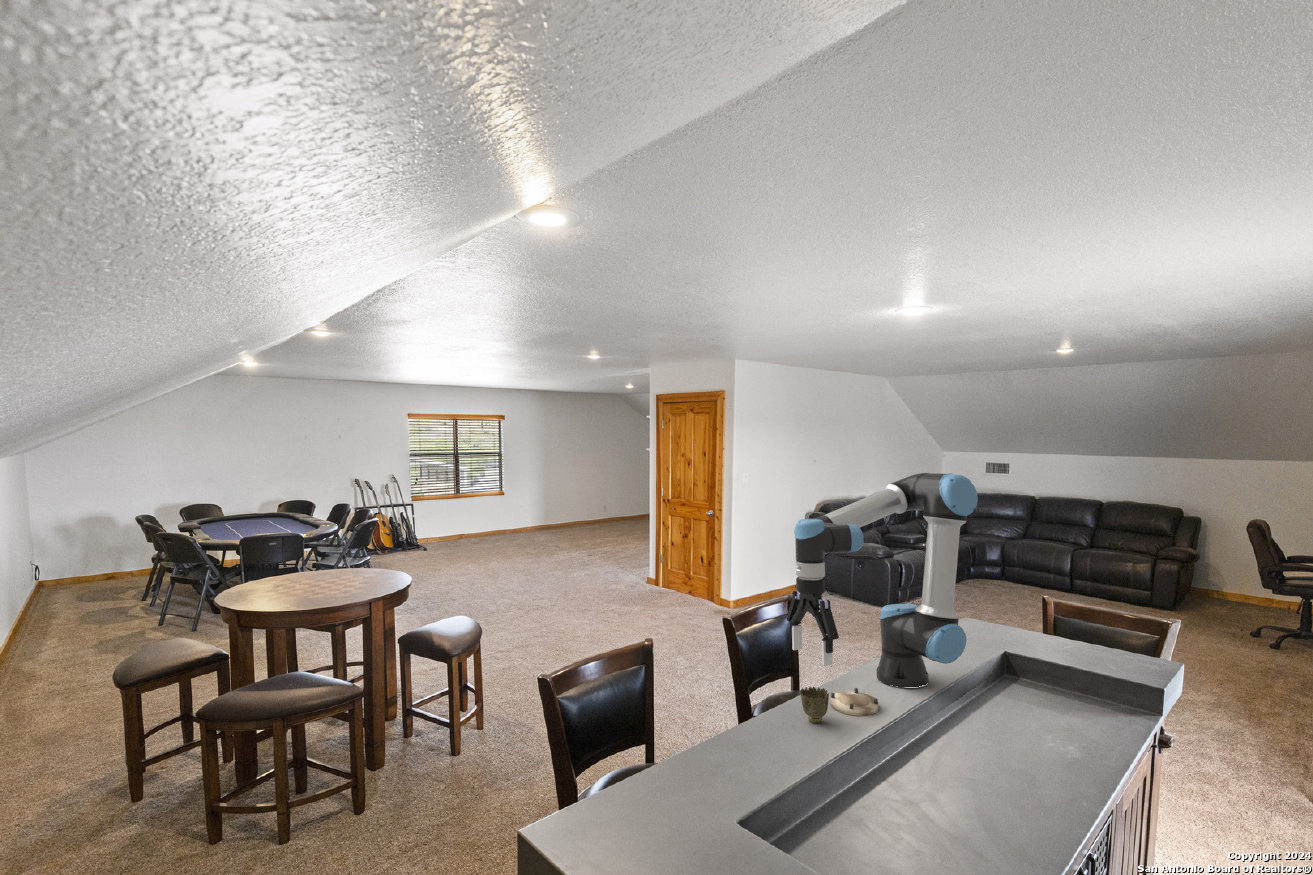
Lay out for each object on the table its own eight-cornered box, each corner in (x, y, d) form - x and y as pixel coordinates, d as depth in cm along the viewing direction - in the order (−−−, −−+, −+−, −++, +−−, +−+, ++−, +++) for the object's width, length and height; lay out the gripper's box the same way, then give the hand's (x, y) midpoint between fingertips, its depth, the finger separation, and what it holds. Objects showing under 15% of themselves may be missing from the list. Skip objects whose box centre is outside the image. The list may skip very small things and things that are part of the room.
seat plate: (857, 693, 185) (857, 684, 185) (888, 710, 173) (888, 700, 173) (820, 701, 181) (820, 691, 181) (850, 718, 168) (849, 708, 169)
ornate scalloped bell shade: (833, 727, 164) (832, 696, 164) (804, 727, 164) (803, 697, 164) (825, 715, 171) (825, 685, 171) (798, 715, 171) (797, 686, 172)
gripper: (773, 570, 179) (774, 645, 179) (827, 587, 156) (828, 673, 155) (795, 568, 182) (797, 641, 181) (852, 585, 158) (853, 669, 158)
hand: (811, 656), depth 168 cm, fingers open, 13 cm apart
